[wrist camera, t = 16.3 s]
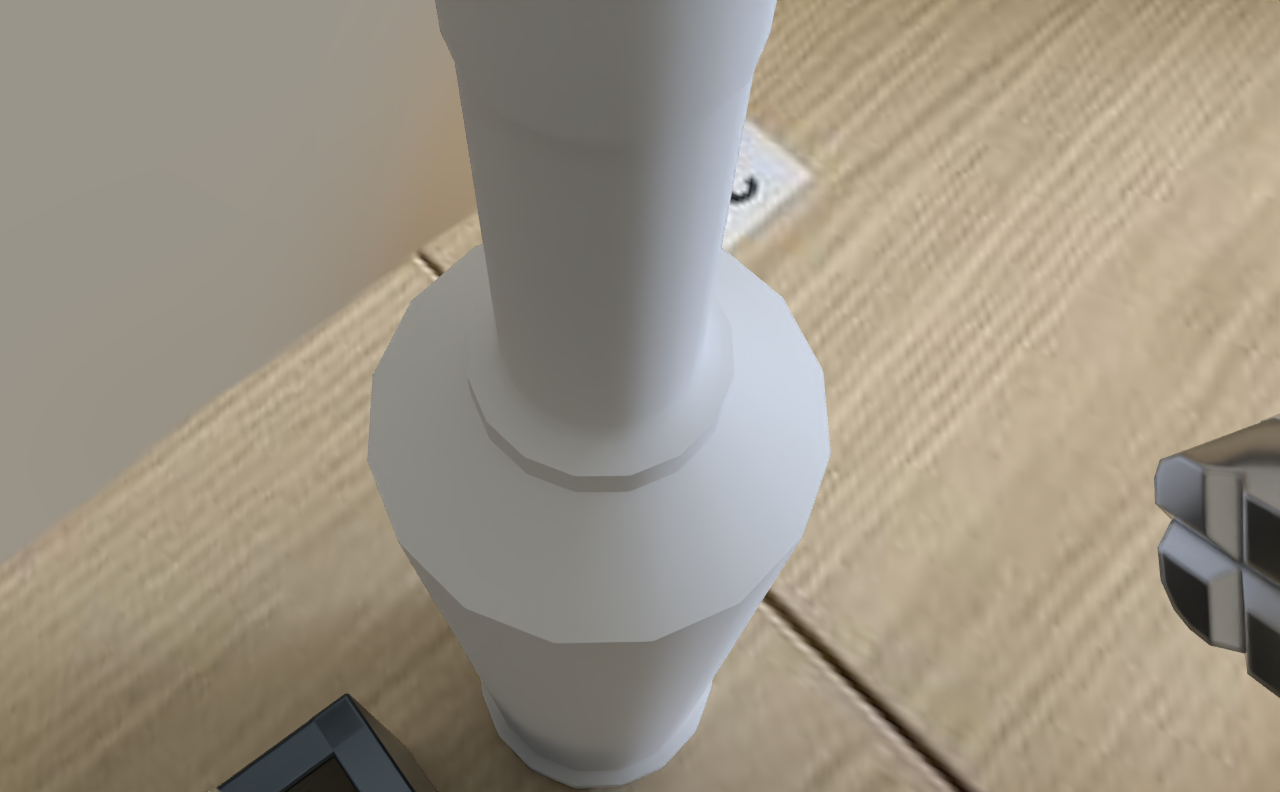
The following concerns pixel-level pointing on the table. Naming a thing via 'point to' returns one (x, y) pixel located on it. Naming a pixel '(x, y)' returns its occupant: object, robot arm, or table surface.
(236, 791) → the rack
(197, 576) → the table surface
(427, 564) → the bottle
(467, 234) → the table surface
